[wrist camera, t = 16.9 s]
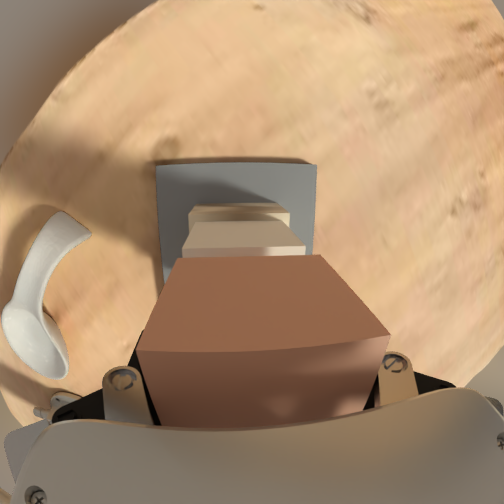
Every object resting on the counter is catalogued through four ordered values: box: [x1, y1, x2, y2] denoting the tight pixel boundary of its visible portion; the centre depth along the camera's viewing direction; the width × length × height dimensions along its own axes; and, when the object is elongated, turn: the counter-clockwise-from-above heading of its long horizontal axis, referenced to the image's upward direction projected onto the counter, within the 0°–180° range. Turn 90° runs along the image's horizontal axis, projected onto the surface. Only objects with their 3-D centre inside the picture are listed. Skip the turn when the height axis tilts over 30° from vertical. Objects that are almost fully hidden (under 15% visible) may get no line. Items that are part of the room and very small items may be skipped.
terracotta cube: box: [136, 255, 391, 428], centre depth 9 cm, size 6×6×6 cm
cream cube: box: [182, 221, 306, 258], centre depth 17 cm, size 6×6×6 cm
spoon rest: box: [1, 211, 91, 380], centre depth 23 cm, size 24×12×7 cm, turn 146°
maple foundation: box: [188, 203, 290, 234], centre depth 22 cm, size 7×7×5 cm
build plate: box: [156, 162, 317, 284], centre depth 25 cm, size 14×14×1 cm
